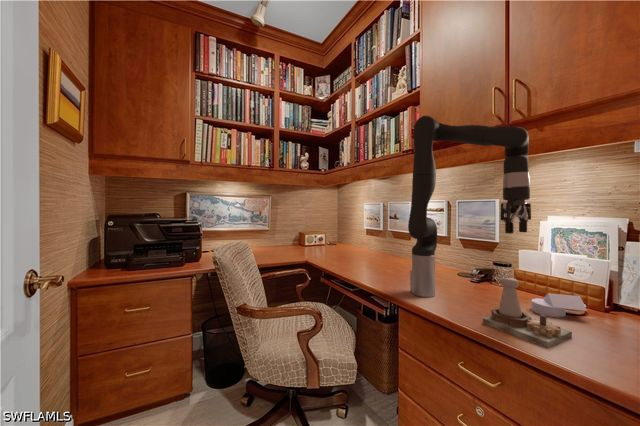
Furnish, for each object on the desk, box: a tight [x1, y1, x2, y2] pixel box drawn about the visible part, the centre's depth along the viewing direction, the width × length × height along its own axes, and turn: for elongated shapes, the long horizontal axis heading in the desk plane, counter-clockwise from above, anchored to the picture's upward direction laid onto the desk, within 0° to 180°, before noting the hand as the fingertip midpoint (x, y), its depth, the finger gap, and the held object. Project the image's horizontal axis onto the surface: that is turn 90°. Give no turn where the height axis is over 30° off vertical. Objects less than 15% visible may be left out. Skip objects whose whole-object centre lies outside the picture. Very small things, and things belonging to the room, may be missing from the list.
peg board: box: [482, 307, 573, 349], centre depth 77 cm, size 17×13×6 cm
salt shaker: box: [498, 277, 523, 319], centre depth 81 cm, size 6×6×13 cm
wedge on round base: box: [531, 292, 588, 318], centre depth 90 cm, size 9×7×13 cm
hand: (516, 232), depth 90 cm, fingers open, 8 cm apart
